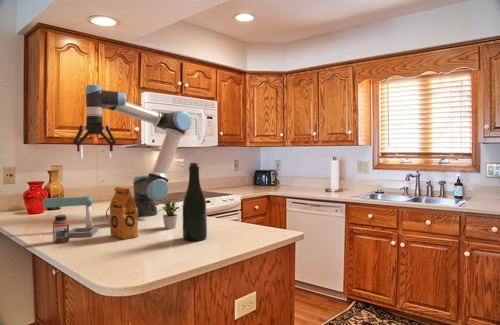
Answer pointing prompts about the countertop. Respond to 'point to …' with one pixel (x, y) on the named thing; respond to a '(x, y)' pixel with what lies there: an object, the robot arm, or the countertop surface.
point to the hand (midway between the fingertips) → (95, 158)
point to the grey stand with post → (85, 231)
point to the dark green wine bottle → (194, 208)
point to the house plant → (169, 214)
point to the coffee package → (123, 214)
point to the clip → (67, 201)
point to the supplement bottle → (60, 229)
